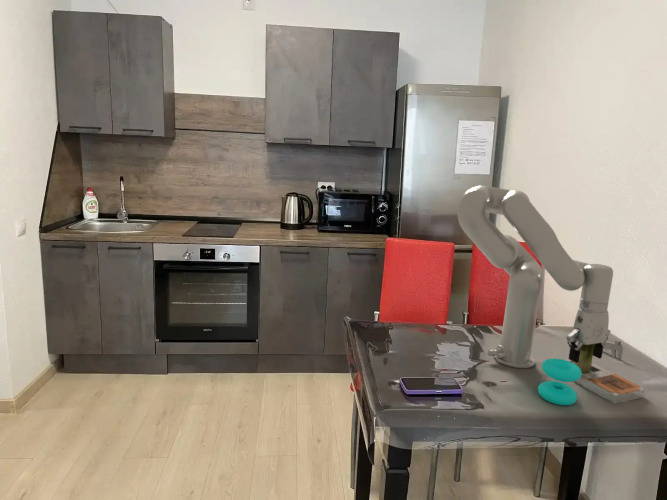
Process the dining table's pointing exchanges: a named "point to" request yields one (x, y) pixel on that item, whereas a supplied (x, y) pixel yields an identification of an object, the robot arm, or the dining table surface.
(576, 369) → the donuts
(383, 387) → the dining table surface
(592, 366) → the orange and grey tray
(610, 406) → the dining table surface
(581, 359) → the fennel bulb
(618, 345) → the caliper
